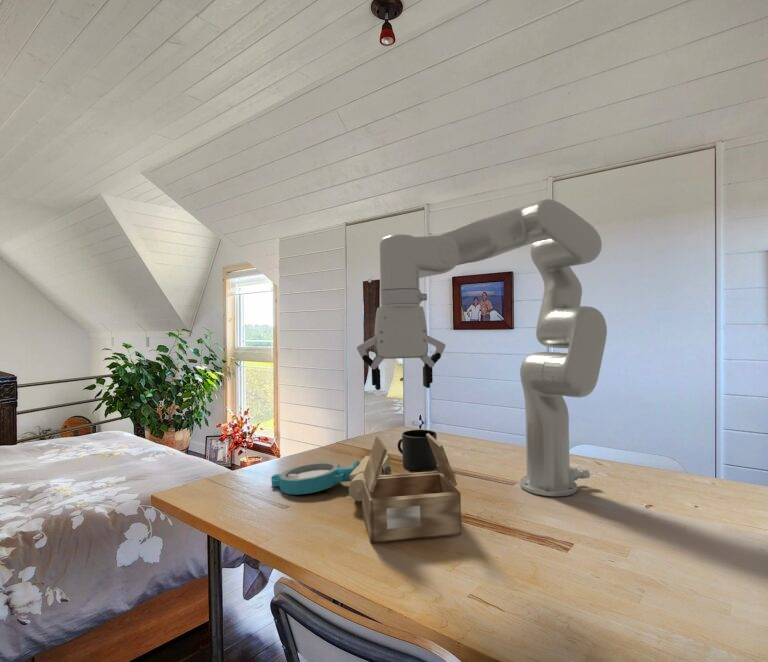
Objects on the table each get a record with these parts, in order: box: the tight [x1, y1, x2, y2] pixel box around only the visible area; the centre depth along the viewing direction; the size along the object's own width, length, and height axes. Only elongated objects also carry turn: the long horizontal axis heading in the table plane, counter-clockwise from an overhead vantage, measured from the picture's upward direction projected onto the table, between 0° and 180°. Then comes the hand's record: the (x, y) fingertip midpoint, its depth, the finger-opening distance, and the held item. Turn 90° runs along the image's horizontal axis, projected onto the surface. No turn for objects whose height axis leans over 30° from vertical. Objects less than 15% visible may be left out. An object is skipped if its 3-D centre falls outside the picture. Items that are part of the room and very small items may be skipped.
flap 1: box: [363, 435, 388, 492], centre depth 88 cm, size 1×10×8 cm, turn 9°
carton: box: [361, 470, 462, 544], centre depth 89 cm, size 17×14×8 cm
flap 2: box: [426, 433, 458, 487], centre depth 90 cm, size 1×10×8 cm, turn 10°
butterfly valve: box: [271, 451, 392, 502], centre depth 111 cm, size 27×7×30 cm
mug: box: [397, 429, 438, 472], centre depth 127 cm, size 9×12×9 cm
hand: (402, 388), depth 90 cm, fingers open, 9 cm apart
